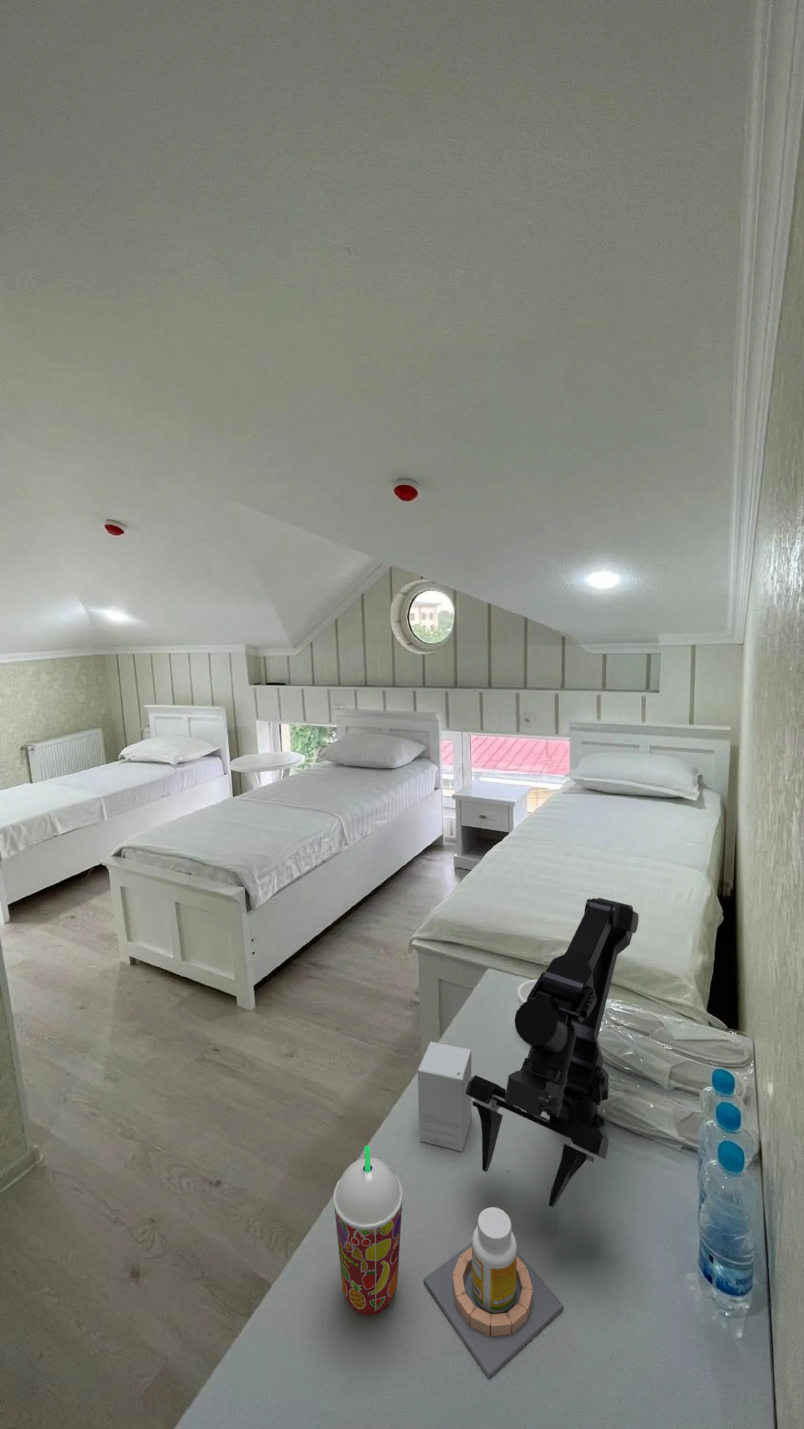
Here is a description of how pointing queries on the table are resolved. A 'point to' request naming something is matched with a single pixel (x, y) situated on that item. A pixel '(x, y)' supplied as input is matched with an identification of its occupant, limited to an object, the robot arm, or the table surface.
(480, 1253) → the supplement bottle
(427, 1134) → the supplement box
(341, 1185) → the smoothie
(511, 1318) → the ring seat
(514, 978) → the table surface
